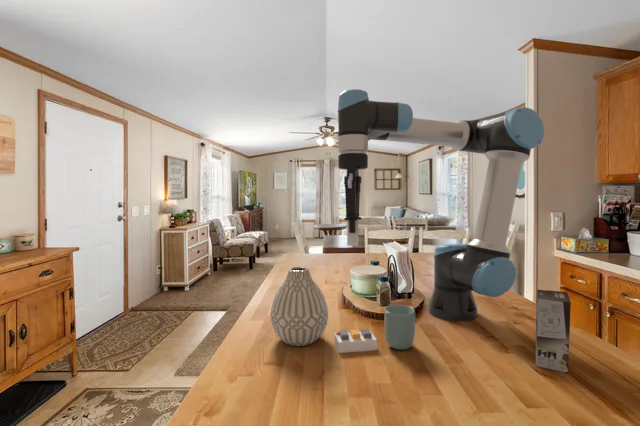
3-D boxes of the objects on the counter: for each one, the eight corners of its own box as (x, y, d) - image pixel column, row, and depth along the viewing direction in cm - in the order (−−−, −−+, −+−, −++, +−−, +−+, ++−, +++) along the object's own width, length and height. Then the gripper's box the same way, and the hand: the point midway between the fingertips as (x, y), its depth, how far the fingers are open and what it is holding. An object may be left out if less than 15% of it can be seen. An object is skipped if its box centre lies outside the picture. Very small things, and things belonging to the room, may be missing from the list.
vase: (283, 358, 86) (282, 278, 84) (263, 335, 100) (261, 266, 98) (339, 344, 93) (338, 270, 92) (312, 324, 107) (311, 260, 106)
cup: (416, 354, 87) (416, 315, 86) (384, 352, 88) (384, 313, 87) (414, 341, 94) (414, 305, 94) (384, 339, 96) (384, 303, 95)
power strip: (370, 341, 95) (370, 326, 95) (376, 351, 89) (376, 335, 89) (334, 343, 94) (334, 328, 94) (338, 354, 88) (338, 337, 88)
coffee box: (569, 373, 77) (571, 302, 76) (535, 366, 80) (536, 297, 79) (566, 356, 84) (568, 291, 83) (535, 350, 88) (536, 288, 87)
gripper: (342, 156, 96) (342, 241, 97) (333, 151, 83) (334, 248, 85) (370, 155, 94) (369, 242, 96) (365, 150, 81) (364, 249, 83)
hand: (352, 245), depth 90 cm, fingers closed
